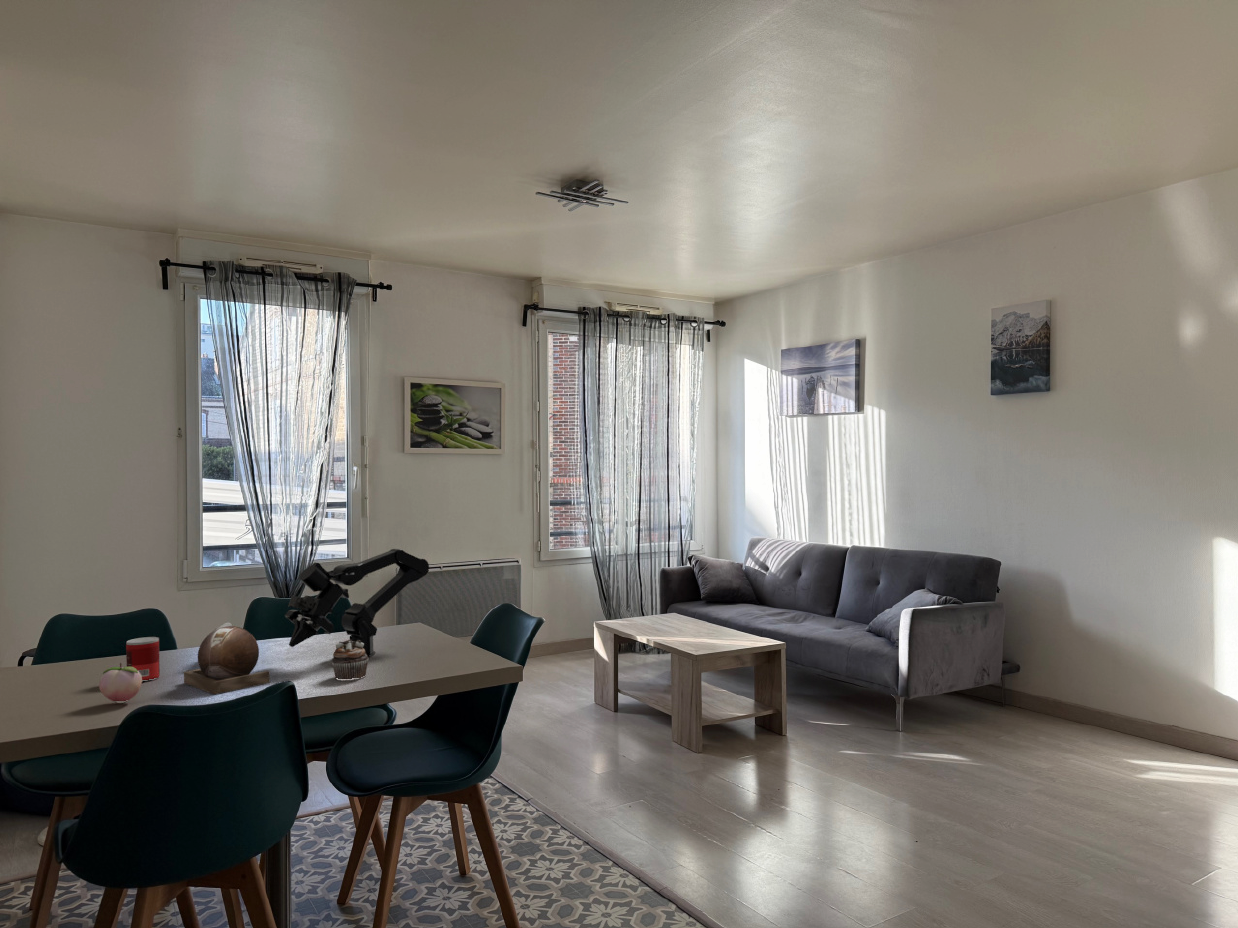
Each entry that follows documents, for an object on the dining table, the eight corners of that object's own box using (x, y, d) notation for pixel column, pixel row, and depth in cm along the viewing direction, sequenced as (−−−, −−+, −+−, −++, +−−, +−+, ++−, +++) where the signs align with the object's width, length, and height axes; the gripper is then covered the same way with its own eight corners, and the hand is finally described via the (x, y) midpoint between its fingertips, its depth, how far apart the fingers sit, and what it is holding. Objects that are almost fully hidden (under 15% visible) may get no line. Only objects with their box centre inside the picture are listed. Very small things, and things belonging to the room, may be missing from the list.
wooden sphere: (191, 691, 222) (189, 633, 222) (206, 677, 237) (205, 623, 237) (252, 687, 225) (251, 630, 225) (264, 673, 240) (263, 620, 240)
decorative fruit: (150, 698, 217) (149, 658, 217) (132, 707, 208) (131, 666, 208) (112, 699, 216) (111, 659, 216) (93, 708, 208) (92, 667, 208)
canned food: (166, 676, 239) (165, 637, 239) (141, 684, 232) (140, 643, 232) (145, 675, 242) (144, 636, 242) (120, 682, 234) (119, 641, 234)
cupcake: (324, 680, 231) (323, 643, 231) (348, 672, 240) (347, 636, 240) (353, 683, 227) (352, 645, 227) (376, 674, 236) (375, 638, 236)
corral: (237, 672, 242) (237, 661, 242) (269, 682, 230) (269, 671, 230) (184, 683, 232) (183, 671, 232) (214, 694, 219) (214, 682, 219)
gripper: (290, 582, 254) (254, 625, 246) (322, 587, 242) (286, 633, 234) (315, 604, 260) (282, 648, 252) (348, 610, 248) (314, 656, 239)
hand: (290, 645), depth 244 cm, fingers closed
